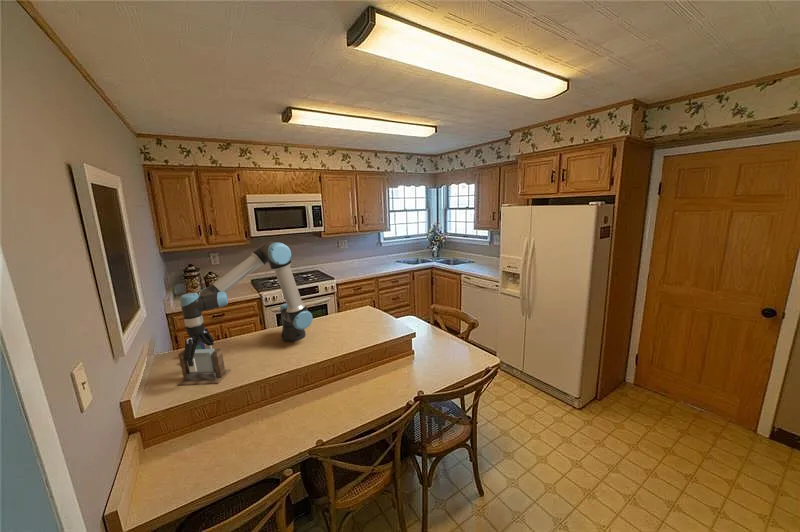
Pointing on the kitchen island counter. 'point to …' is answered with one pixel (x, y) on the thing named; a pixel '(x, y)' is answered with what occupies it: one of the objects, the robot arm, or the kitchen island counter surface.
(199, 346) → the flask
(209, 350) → the door panel
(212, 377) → the track frame
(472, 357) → the kitchen island counter surface
